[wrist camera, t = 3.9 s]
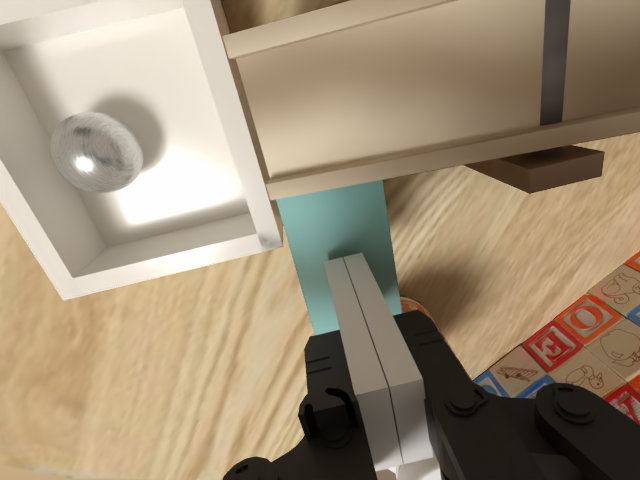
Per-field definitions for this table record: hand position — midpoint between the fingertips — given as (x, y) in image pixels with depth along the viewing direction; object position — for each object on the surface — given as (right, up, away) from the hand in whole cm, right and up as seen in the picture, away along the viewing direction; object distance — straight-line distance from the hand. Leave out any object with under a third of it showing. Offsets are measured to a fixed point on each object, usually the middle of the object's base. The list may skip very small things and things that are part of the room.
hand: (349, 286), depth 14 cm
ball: (-11, +6, +2) cm, 13 cm away
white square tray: (-10, +7, +4) cm, 13 cm away
